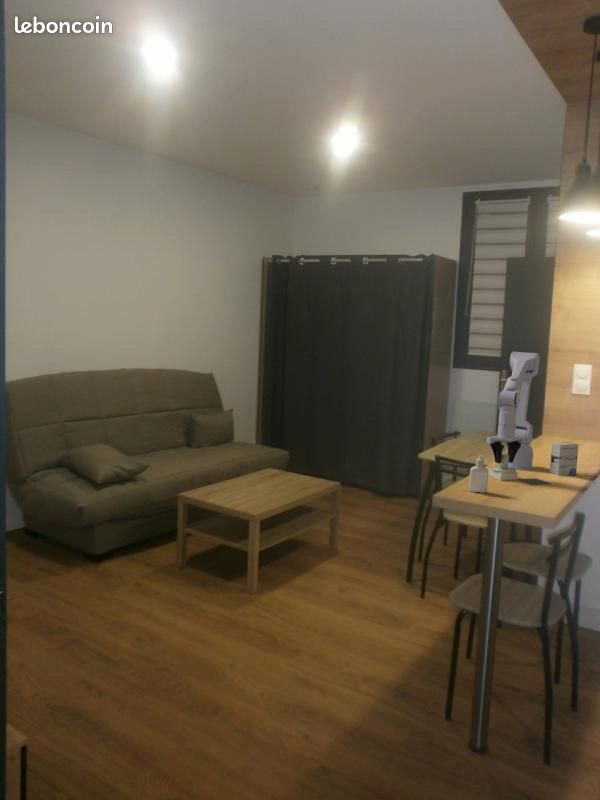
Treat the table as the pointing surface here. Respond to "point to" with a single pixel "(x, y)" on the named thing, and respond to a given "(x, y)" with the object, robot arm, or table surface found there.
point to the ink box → (564, 458)
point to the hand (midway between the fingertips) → (503, 462)
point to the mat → (534, 481)
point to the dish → (503, 475)
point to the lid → (504, 465)
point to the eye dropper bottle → (478, 477)
